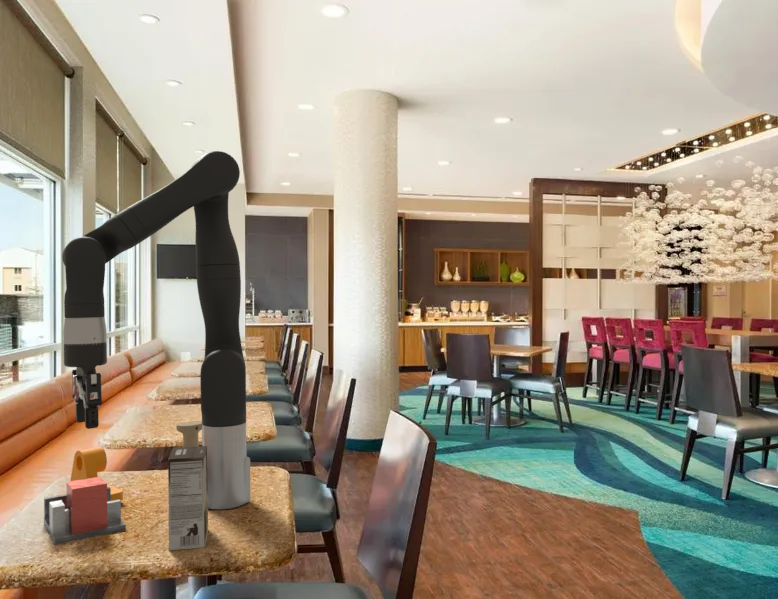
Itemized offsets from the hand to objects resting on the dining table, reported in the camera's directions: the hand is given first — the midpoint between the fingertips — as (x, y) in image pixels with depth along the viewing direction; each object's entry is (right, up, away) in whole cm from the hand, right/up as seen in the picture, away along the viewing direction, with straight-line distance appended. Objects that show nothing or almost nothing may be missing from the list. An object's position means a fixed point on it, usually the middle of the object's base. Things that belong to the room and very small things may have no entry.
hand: (87, 424), depth 120 cm
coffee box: (+22, -20, -7) cm, 30 cm away
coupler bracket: (-1, -20, 0) cm, 20 cm away
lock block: (+1, -19, -2) cm, 19 cm away
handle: (+12, -20, +25) cm, 34 cm away
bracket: (-5, -20, +15) cm, 26 cm away
